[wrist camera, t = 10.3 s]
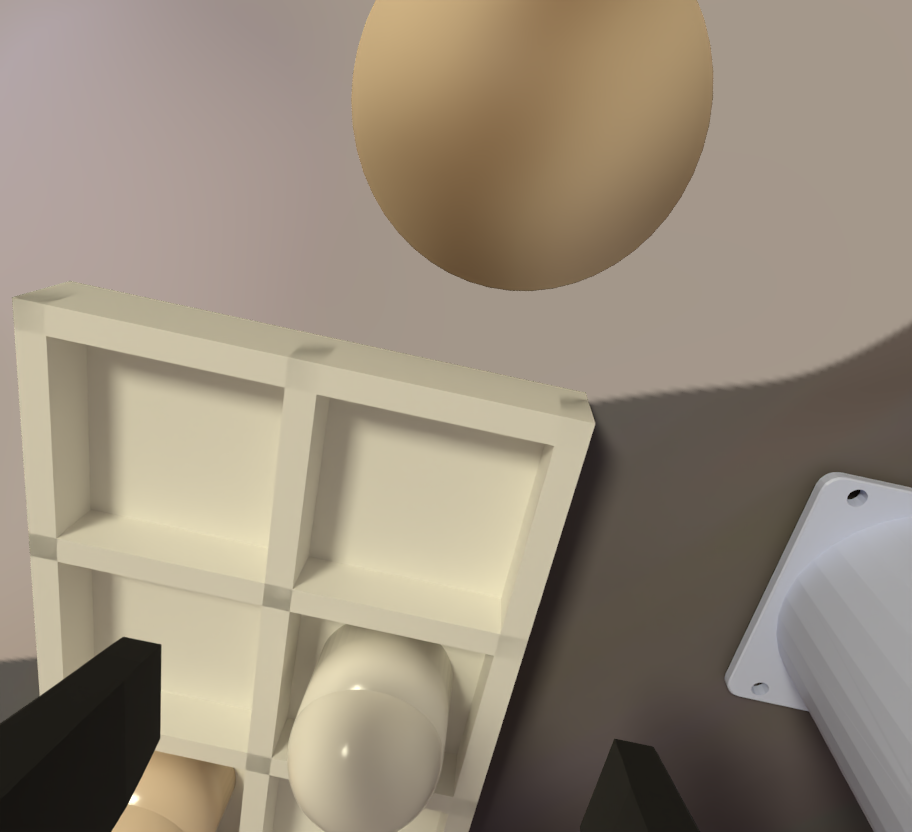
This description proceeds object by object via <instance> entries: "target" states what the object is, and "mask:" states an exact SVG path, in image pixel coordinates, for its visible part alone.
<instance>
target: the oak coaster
mask: <svg viewBox="0 0 912 832" xmlns="http://www.w3.org/2000/svg"><path fill="white" fill-rule="evenodd" d="M712 100H713V66H712V56H711V47H710V41H709V37H708V33H707V29H706V25H705V21H704V17H703V15H702V12H701V9H700V7H699V4H698V2H697V0H376V1H375V3H374V5H373V7H372V10H371V12H370V15H369V17H368V19H367V21H366V23H365V26H364V30H363V33H362V36H361V39H360V43H359V46H358V50H357V56H356V61H355V66H354V72H353V83H352V100H351V101H352V120H353V130H354V135H355V141H356V147H357V151H358V155H359V158H360V162H361V164H362V168H363V172H364V174H365V176H366V179H367V181H368V184H369V186H370V188H371V191H372V193H373V195H374V197H375V199H376V200H377V202H378V204H379V205H380V207H381V209H382V211H383V212H384V214H385V216H386V217H387V218H388V220H389V221H390V222H391V223H392V225H393V226H394V227H395V229H396V230H397V231H398V233H399V234H400V235H401V236H402V237H403V238H404V239H405V240H406V241H407V242H408V243H409V244H410V245H411V246H412V247H413V248H414V249H415V250H416V251H418V252H419V253H420V254H422V255H423V256H424V257H425V258H427V259H428V260H429V261H430V262H432V263H433V264H435V265H437V266H438V267H440V268H442V269H444V270H445V271H447V272H448V273H451V274H453V275H455V276H457V277H460V278H462V279H464V280H466V281H469V282H472V283H476V284H479V285H483V286H486V287H490V288H497V289H503V290H510V291H511V290H513V291H515V290H516V291H534V290H544V289H553V288H557V287H561V286H565V285H569V284H573V283H576V282H579V281H581V280H584V279H586V278H589V277H592V276H594V275H596V274H598V273H600V272H602V271H604V270H605V269H607V268H609V267H611V266H613V265H615V264H616V263H618V262H619V261H621V260H622V259H623V258H625V257H626V256H628V255H629V254H630V253H632V252H633V251H634V250H636V249H637V248H638V247H639V246H640V245H641V244H642V243H643V242H644V241H645V240H647V239H648V238H649V237H650V236H651V235H652V234H653V233H654V232H655V230H656V229H657V228H658V227H659V226H660V225H661V224H662V223H663V221H664V220H665V219H666V218H667V217H668V215H669V214H670V212H671V211H672V210H673V208H674V207H675V205H676V204H677V202H678V201H679V199H680V198H681V196H682V194H683V193H684V191H685V189H686V187H687V185H688V183H689V181H690V179H691V177H692V176H693V173H694V171H695V168H696V166H697V163H698V160H699V158H700V155H701V153H702V150H703V147H704V143H705V139H706V135H707V131H708V127H709V122H710V115H711V107H712Z"/></svg>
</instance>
